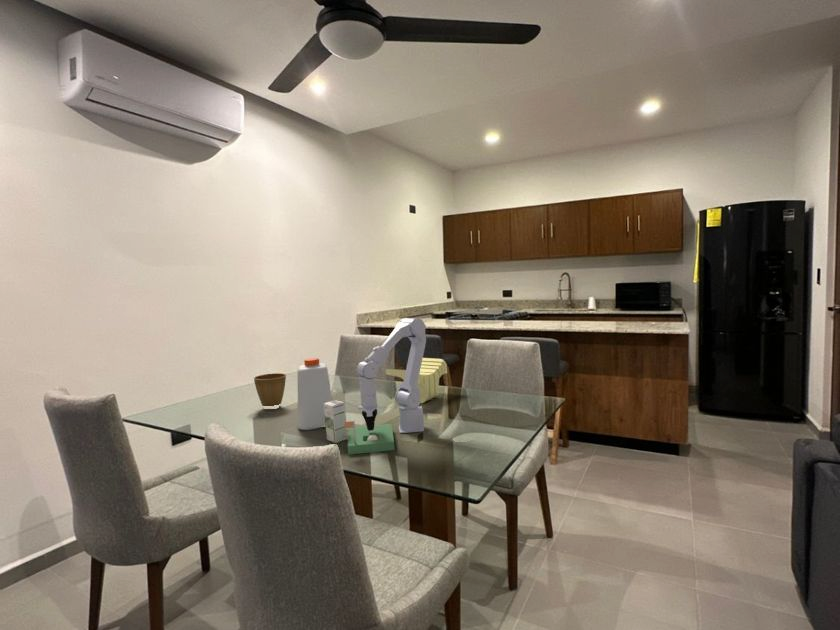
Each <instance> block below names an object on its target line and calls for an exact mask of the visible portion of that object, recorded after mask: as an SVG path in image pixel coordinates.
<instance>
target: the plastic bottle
mask: <svg viewBox="0 0 840 630" xmlns="http://www.w3.org/2000/svg"><path fill="white" fill-rule="evenodd" d="M303 362H304V364H302V365H299V366H298V367H297V427H298V429H299V430H301V431H312V430H317V428H319V427H321V426H324V425H325V415H324V403H327V402H329V401H333V398H332V391H331V384H330V378H329V377H330V376H329V369H328V366H327V364H325V363H323V362H322V363H320V359H319V358H317V357H312V358H307V359H304V361H303ZM319 429H320V428H319Z"/></svg>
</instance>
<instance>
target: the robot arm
mask: <svg viewBox="0 0 840 630" xmlns="http://www.w3.org/2000/svg"><path fill="white" fill-rule="evenodd" d="M426 329H427V325H426V324H425V322H424V321H423V319H421V318H419V317H416V318H414V317H403V318H401V319H400V320H399V321H398V322H397V323H396V325H395V327H394V329H393V330H392V331H391V333H390V334H389V335H388V337H387V338H386V340H385V341H384V342H383V343H382V345H377V346H376V347H373V348H372V352H370V354H368V356H367V357H365V358H364V361H360V362H359V363H358V364H357V368H356V369H355V373H356V374H357V376H358V378H359V389H360V390H359V391H360V392H359V393H360V405H358V406H357V408H358V410H361V415H362V417H363V419H364V421H365V426H367V429H368V431H371V430H374V425H375V421H376V418H377V415H378V402H377V401H378V400H377V389H376V388H377V387H376V376H377V375H378V371H379V368H380V367H381V365H382V364H383V363H384V362H385V361H386V359H388V357H389V351H391V350H392V349H393V347H395V345H397V344H398V342H399V341H400V340H402V338H405V337H407V338H408V339H409V341H410V342H411V345H410V349H409V354H408V359H407V363H406V369H405V370H406V373H405V377H404V380H403V381H402V382H401V383H400V384H399V385H398V389H397V390H396V392H395V393H394V394H395V395H394V400H395V402H396V404H397V406H398V413H399V416H398V418H399V425H398V431H399V433H400V434H407V433H408V434H409V433H417V432H424V431H425V421H424V409H423V407H422V405H421V404H420V389H419V387H418V385H417V383H418V378H419V373H420V368H421V364H422V359H423V358H424V354H425V348H426V343H427V336H426ZM419 405H421V406H419Z"/></svg>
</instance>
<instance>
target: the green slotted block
mask: <svg viewBox="0 0 840 630" xmlns="http://www.w3.org/2000/svg"><path fill="white" fill-rule="evenodd" d="M344 426H345V428H346V429H349V431H348V438H347V440H348V441H347V454H348V456H349V455H356V454H357V455H358V454H366V453H367V454H368V453H377V452H388V451H395V450H396V449H395V440H394V433H393V427H392V423H385V424H384V423H383V424H374V430H371V431H368V429H367V425H363V426H356V424H355V420H350V421H349V420H348V421H345V422H344ZM370 435H376V436H377V437H378V440H372V441H367V439H368V437H369V436H370Z"/></svg>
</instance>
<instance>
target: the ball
mask: <svg viewBox="0 0 840 630" xmlns="http://www.w3.org/2000/svg"><path fill="white" fill-rule="evenodd" d="M372 440H378V437H377V436H376V435H370V436H369V437H368V439H367V441H372Z"/></svg>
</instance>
